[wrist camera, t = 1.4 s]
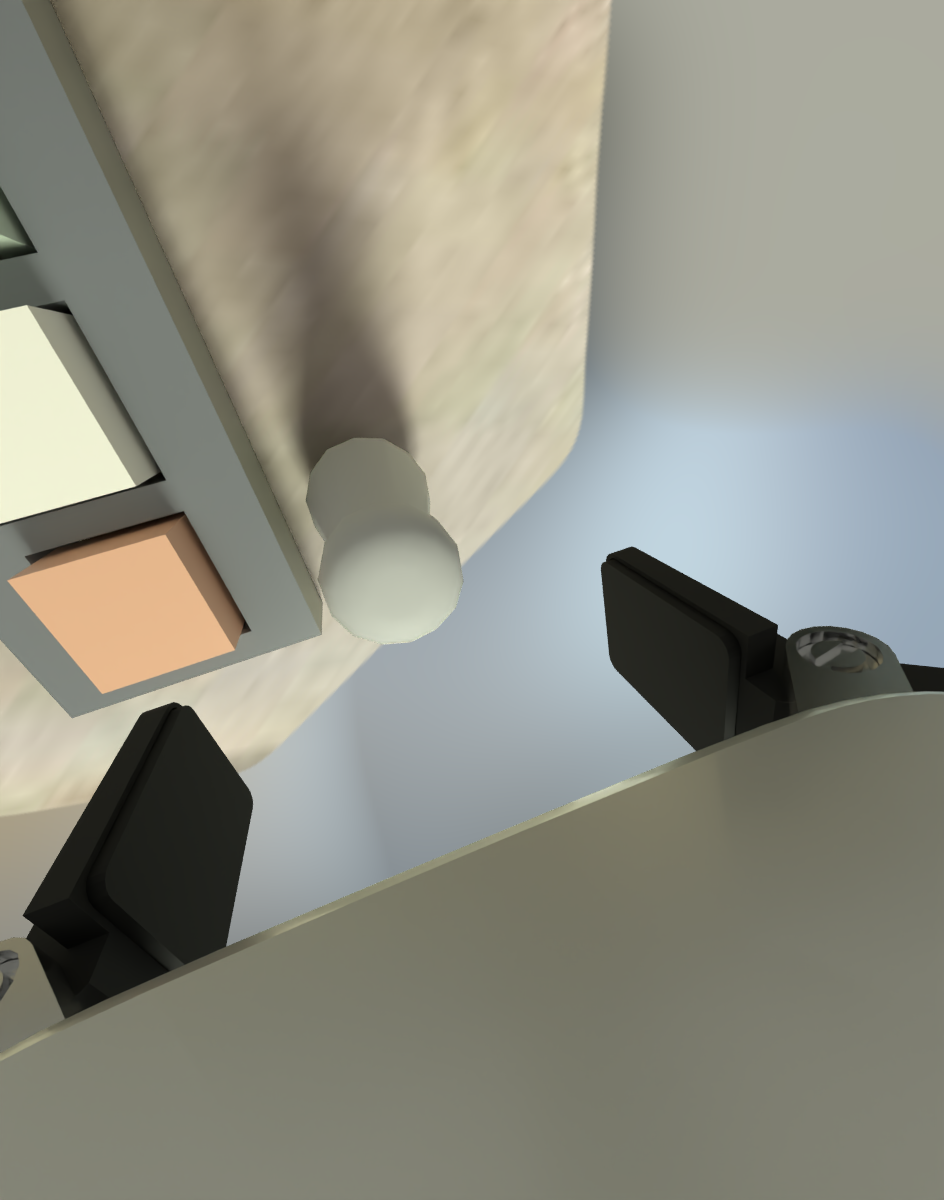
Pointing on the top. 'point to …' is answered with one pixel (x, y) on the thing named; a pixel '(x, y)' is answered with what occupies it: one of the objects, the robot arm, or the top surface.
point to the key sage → (12, 232)
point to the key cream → (60, 418)
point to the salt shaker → (381, 543)
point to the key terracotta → (133, 602)
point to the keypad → (126, 370)
